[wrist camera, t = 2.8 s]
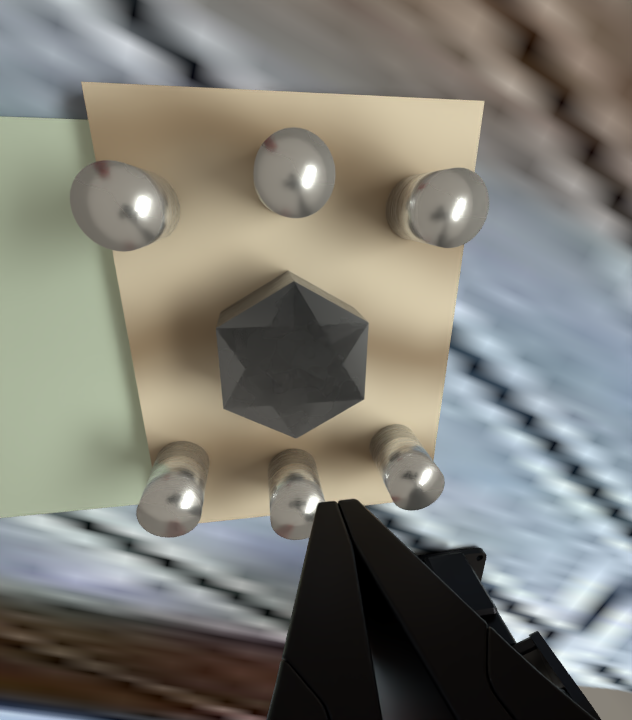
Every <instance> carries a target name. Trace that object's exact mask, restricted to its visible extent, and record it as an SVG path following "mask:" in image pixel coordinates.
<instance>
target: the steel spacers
mask: <svg viewBox="0 0 632 720" xmlns="http://www.w3.org/2000/svg"><path fill="white" fill-rule="evenodd" d="M253 182H254V188H255V191H256V194H257V196H258V198H259V199H260V201H261V202H262V203H263V205H264V206H265V207H266V208H268V209H269V210H271V211H272V212H274V213H277V214H279V215H282V216H284V217H288V218H303V217H307V216H310V215H312V214H314V213H316V212H317V211H318V210H320V209H321V208H322V207H323V206H324V205H325V204H326V202H327V201H328V199H329V198H330V196H331V194H332V191H333V188H334V184H335V164H334V160H333V157H332V155H331V152H330V150H329V149H328V147H327V146H326V144H325V143H324V142H323V141H322V140H321V139H320V138H319V137H318V136H317V135H316V134H314V133H312V132H310V131H308V130H306V129H302V128H296V127H292V128H284V129H281V130H279V131H277V132H275V133H273V134H272V135H270V136H269V137H268V138H267V139H266V140H265V141H264V142H263V144H262V145H261V147H260V148H259V150H258V153H257V155H256V158H255V162H254V172H253ZM70 205H71V210H72V214H73V216H74V218H75V220H76V222H77V224H78V226H79V227H80V228H81V230H82V231H83V232H84V233H85V234H86V235H87V236H88V237H89V238H90V239H91V240H92V241H94V242H95V243H97V244H99V245H100V246H102V247H105V248H107V249H110V250H114V251H124V252H125V251H133V250H136V249H139V248H142V247H144V246H147V245H149V244H152V243H154V242H157V241H159V240H162V239H164V238H166V237H167V236H169V235H170V234H171V233H172V232H173V231H174V230H175V228H176V226H177V225H178V222H179V218H180V204H179V200H178V197H177V195H176V193H175V191H174V189H173V188H172V186H171V185H170V184H169V183H168V182H167V181H166V180H165V179H164V178H162V177H161V176H159V175H158V174H156V173H153V172H151V171H148V170H144V169H141V168H138V167H135V166H132V165H129V164H125V163H122V162H118V161H113V160H102V161H97V162H94V163H91V164H89V165H87V166H86V167H84V168H83V169H82V170H81V171H80V172H79V173H78V174H77V176H76V177H75V179H74V181H73V183H72V186H71V190H70ZM488 209H489V196H488V191H487V188H486V186H485V184H484V182H483V180H482V179H481V178H480V177H479V176H478V175H477V174H476V173H475V172H473V171H471V170H469V169H466V168H450V169H445V170H439V171H433V172H428V173H422V174H416V175H411V176H408V177H406V178H404V179H402V180H401V181H399V182H398V183H397V184H396V185H395V186H394V187H393V189H392V190H391V192H390V194H389V196H388V199H387V203H386V218H387V222H388V224H389V226H390V228H391V229H392V231H393V232H394V233H395V234H396V235H398V236H399V237H401V238H404V239H408V240H412V241H416V242H421V243H425V244H429V245H434V246H438V247H443V248H454V247H458V246H461V245H463V244H465V243H467V242H468V241H470V240H471V239H472V238H474V237H475V236H476V234H477V233H478V232H479V231H480V229H481V228H482V226H483V224H484V222H485V220H486V217H487V214H488ZM369 450H370V454H371V456H372V458H373V460H374V462H375V465H376V467H377V469H378V471H379V473H380V475H381V477H382V479H383V481H384V484H385V486H386V488H387V490H388V492H389V494H390V496H391V498H392V500H393V502H394V503H395V504H396V505H397V506H398V507H400V508H402V509H405V510H419V509H422V508H425V507H427V506H429V505H430V504H432V503H433V502H435V501H436V500H437V499H438V497H439V496H440V495H441V493H442V491H443V489H444V483H445V482H444V476H443V474H442V473H441V471H440V470H439V468H438V467H437V466H436V464H435V463H434V461H433V460H432V458H431V457H430V456H429V454H428V453H427V451H426V450H425V449H424V447H423V446H422V444H421V443H420V441H419V440H418V439H417V437H416V436H415V434H414V433H413V432H412V430H411V429H410V428H408V427H407V426H404V425H401V424H392V425H388V426H385V427H383V428H382V429H380V430H379V431H378V432H377V433H376V434H375V435H374V436H373V438H372V439H371V442H370V446H369ZM209 464H210V462H209V457H208V454H207V453H206V451H205V450H204V449H203V448H202V447H201V446H199V445H197V444H195V443H193V442H189V441H176V442H172V443H169V444H167V445H166V446H164V447H163V448H162V449H161V450H160V451H159V453H158V454H157V457H156V459H155V462H154V465H153V467H152V470H151V473H150V475H149V478H148V481H147V483H146V486H145V489H144V491H143V494H142V497H141V499H140V502H139V505H138V507H137V519H138V522H139V523H140V525H141V526H142V527H143V528H144V529H145V530H146V531H148V532H149V533H151V534H153V535H156V536H160V537H177V536H181V535H184V534H186V533H188V532H190V531H191V530H193V529H194V528H195V527H196V526H197V524H198V523H199V521H200V518H201V514H202V507H203V501H204V495H205V489H206V483H207V477H208V470H209ZM268 486H269V503H270V520H271V526H272V528H273V530H274V531H275V532H276V533H277V534H278V535H279V536H281V537H283V538H286V539H290V540H301V539H306V538H309V537H310V533H311V529H312V525H313V520H314V516H315V512H316V507H317V504H318V503H319V502H325V499H324V495H323V491H322V487H321V482H320V478H319V474H318V470H317V466H316V462H315V460H314V458H313V457H312V455H311V454H309V453H308V452H306V451H304V450H301V449H287V450H284V451H281V452H279V453H278V454H276V455H275V456H274V457H273V458H272V460H271V461H270V463H269V465H268Z"/></svg>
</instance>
